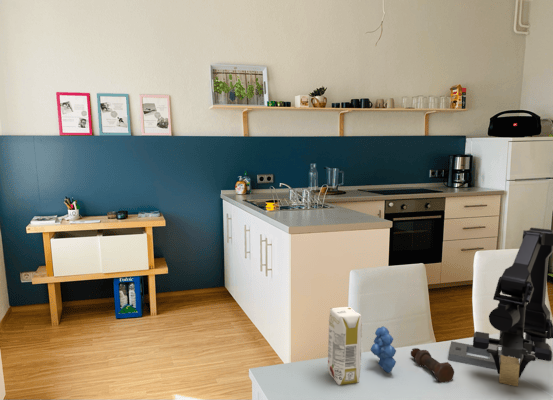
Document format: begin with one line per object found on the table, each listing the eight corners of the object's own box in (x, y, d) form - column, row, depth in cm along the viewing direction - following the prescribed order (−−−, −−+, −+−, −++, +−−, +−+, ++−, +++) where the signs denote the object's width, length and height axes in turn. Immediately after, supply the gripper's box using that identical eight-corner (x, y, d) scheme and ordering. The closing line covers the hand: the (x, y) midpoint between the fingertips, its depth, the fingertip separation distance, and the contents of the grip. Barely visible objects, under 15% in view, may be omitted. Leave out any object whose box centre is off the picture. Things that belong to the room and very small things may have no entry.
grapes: (362, 360, 134) (364, 321, 133) (384, 358, 135) (385, 320, 134) (376, 379, 123) (378, 337, 121) (400, 378, 124) (402, 336, 122)
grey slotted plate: (451, 347, 144) (451, 340, 144) (506, 357, 137) (507, 351, 137) (448, 359, 135) (448, 353, 135) (507, 371, 128) (508, 364, 128)
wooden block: (499, 375, 126) (500, 354, 125) (517, 379, 124) (518, 358, 123) (499, 382, 122) (500, 361, 121) (518, 386, 120) (519, 365, 119)
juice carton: (337, 387, 118) (339, 318, 116) (325, 372, 127) (326, 307, 125) (363, 383, 120) (365, 315, 118) (349, 369, 129) (351, 304, 127)
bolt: (416, 363, 136) (448, 387, 122) (404, 357, 135) (434, 380, 121) (425, 346, 137) (457, 367, 122) (412, 340, 135) (444, 360, 121)
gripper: (473, 324, 118) (470, 380, 119) (556, 337, 110) (551, 398, 111) (475, 311, 128) (472, 363, 129) (551, 322, 120) (546, 378, 121)
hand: (508, 375), depth 123 cm, fingers closed on wooden block, 4 cm apart
